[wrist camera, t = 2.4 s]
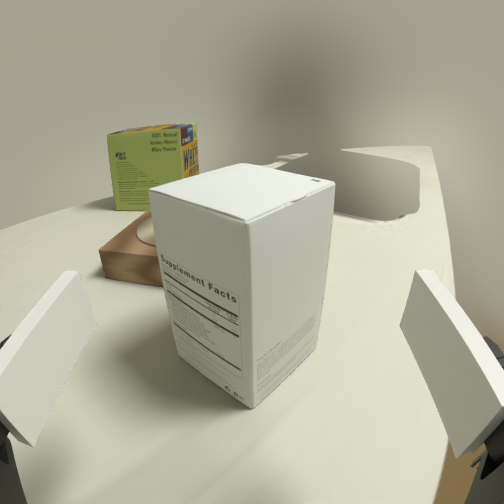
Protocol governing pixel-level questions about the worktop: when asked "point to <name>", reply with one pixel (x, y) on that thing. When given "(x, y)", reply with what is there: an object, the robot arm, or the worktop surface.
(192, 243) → the supplement box
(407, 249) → the worktop surface
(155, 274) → the pedestal
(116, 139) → the protein box
